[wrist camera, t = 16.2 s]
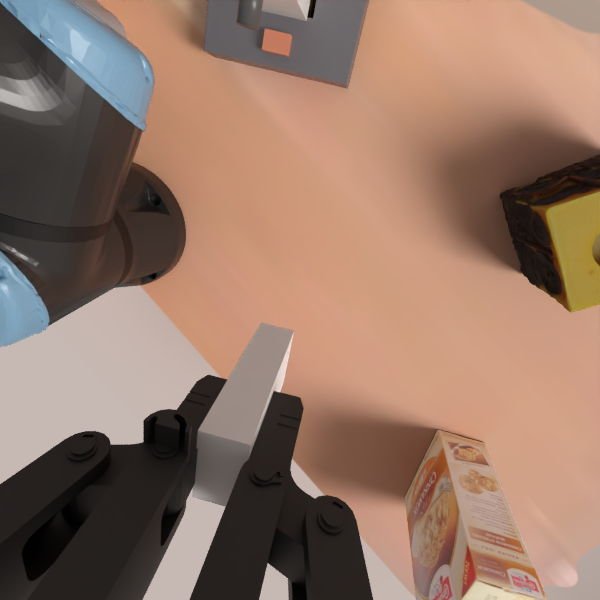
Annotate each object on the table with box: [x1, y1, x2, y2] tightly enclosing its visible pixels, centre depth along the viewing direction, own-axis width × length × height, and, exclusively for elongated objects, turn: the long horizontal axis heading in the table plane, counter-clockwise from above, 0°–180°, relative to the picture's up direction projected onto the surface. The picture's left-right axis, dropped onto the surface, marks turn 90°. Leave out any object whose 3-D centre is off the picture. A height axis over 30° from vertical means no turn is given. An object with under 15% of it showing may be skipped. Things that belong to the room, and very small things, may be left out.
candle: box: [500, 155, 600, 312], centre depth 33 cm, size 10×10×10 cm
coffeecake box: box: [405, 430, 547, 600], centre depth 45 cm, size 15×7×20 cm, turn 168°
